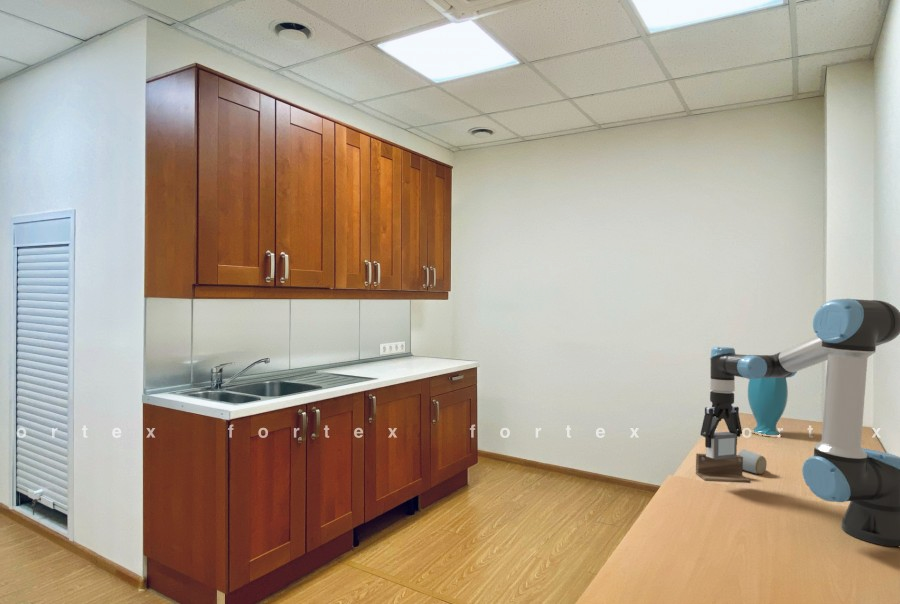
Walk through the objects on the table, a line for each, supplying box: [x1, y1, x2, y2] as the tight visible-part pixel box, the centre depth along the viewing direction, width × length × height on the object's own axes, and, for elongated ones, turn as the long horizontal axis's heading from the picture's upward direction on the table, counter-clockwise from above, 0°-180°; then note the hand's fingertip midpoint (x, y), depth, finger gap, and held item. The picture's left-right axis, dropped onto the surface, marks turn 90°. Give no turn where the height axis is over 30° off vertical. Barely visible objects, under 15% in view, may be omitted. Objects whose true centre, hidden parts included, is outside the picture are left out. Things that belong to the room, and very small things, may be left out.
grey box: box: [706, 431, 738, 460], centre depth 187 cm, size 4×10×8 cm, turn 113°
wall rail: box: [695, 452, 751, 483], centre depth 196 cm, size 8×16×8 cm, turn 88°
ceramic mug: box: [737, 449, 767, 475], centre depth 205 cm, size 11×8×8 cm
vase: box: [747, 378, 789, 435], centre depth 270 cm, size 17×17×30 cm
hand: (721, 455), depth 187 cm, fingers closed on grey box, 10 cm apart
